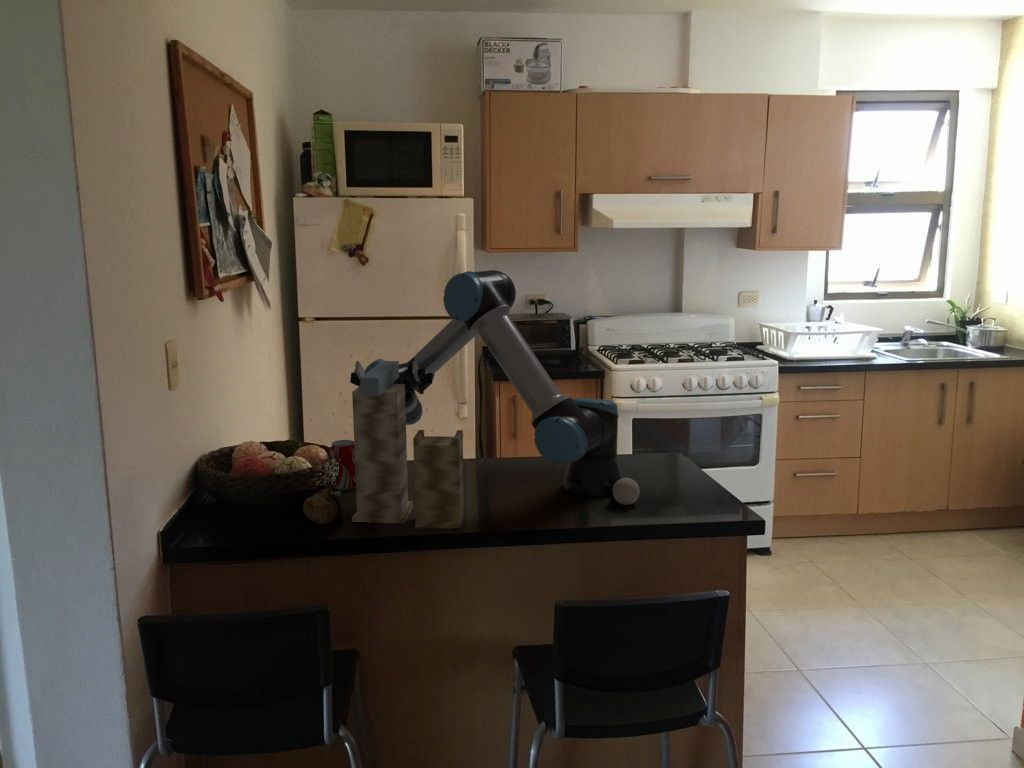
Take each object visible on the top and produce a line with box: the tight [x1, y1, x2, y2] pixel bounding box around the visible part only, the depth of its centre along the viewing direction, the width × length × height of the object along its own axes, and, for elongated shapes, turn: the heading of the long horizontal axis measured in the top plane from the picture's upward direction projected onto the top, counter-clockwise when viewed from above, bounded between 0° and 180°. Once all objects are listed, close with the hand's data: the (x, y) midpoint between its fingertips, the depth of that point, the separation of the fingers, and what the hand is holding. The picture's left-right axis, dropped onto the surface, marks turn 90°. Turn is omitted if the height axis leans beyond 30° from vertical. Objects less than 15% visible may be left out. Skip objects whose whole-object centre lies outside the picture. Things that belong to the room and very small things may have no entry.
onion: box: [302, 488, 342, 525], centre depth 189 cm, size 8×8×8 cm
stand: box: [351, 384, 414, 524], centre depth 192 cm, size 12×12×30 cm
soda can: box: [329, 439, 356, 492], centre depth 214 cm, size 7×7×12 cm
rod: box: [360, 360, 400, 396], centre depth 191 cm, size 4×24×4 cm, turn 177°
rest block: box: [412, 429, 465, 529], centre depth 187 cm, size 10×8×20 cm
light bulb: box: [612, 477, 640, 506], centre depth 203 cm, size 7×7×11 cm
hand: (385, 366), depth 197 cm, fingers open, 13 cm apart
